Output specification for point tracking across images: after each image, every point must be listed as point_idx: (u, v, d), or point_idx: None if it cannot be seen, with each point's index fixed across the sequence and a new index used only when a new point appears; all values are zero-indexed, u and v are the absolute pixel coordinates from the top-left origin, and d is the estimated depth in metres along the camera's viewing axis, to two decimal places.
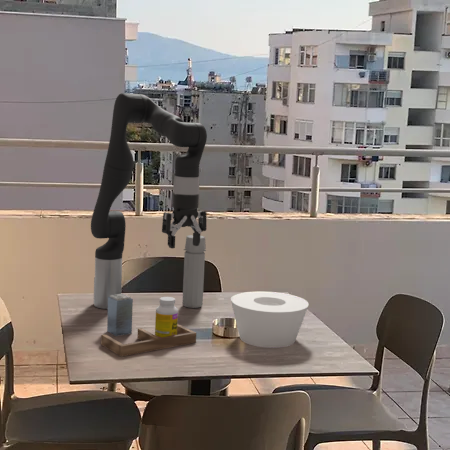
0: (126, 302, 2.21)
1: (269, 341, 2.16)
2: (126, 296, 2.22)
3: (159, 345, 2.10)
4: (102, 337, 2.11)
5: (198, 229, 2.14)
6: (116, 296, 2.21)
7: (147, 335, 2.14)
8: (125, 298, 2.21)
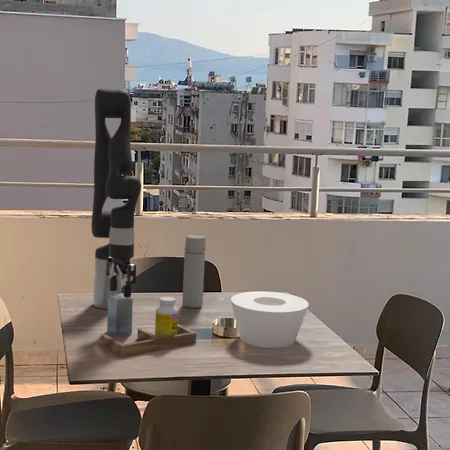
0: (126, 302, 2.21)
1: (269, 341, 2.16)
2: None
3: (159, 345, 2.10)
4: (102, 337, 2.11)
5: None
6: (116, 296, 2.21)
7: (147, 335, 2.14)
8: (125, 298, 2.21)
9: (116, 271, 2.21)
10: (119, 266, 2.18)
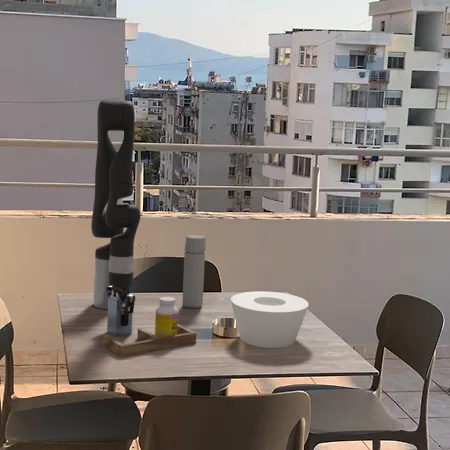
0: None
1: (269, 341, 2.16)
2: None
3: (159, 345, 2.10)
4: (102, 337, 2.11)
5: None
6: None
7: (147, 335, 2.14)
8: None
9: None
10: (118, 294, 2.19)
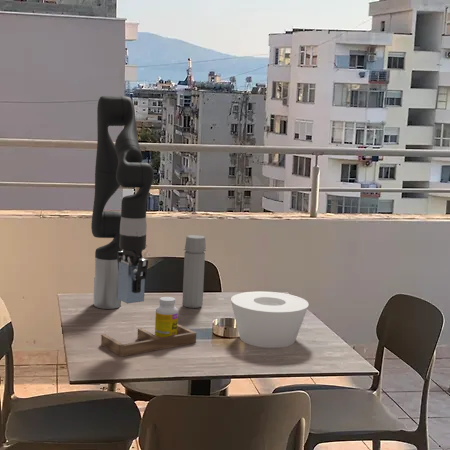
0: None
1: (269, 341, 2.16)
2: None
3: (159, 345, 2.10)
4: (102, 337, 2.11)
5: None
6: (127, 261, 2.07)
7: (147, 335, 2.14)
8: None
9: None
10: (130, 259, 2.05)
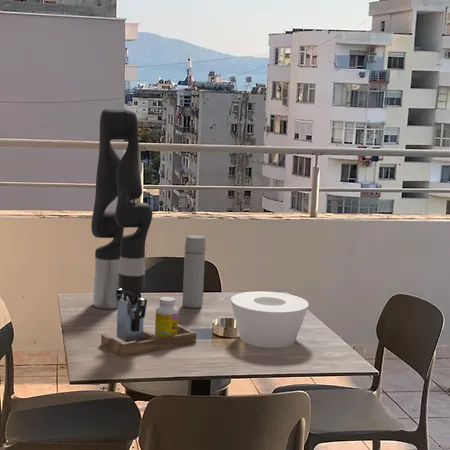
0: None
1: (269, 341, 2.16)
2: None
3: (159, 345, 2.10)
4: (102, 337, 2.11)
5: None
6: (126, 300, 2.09)
7: (147, 335, 2.14)
8: None
9: None
10: (129, 298, 2.07)
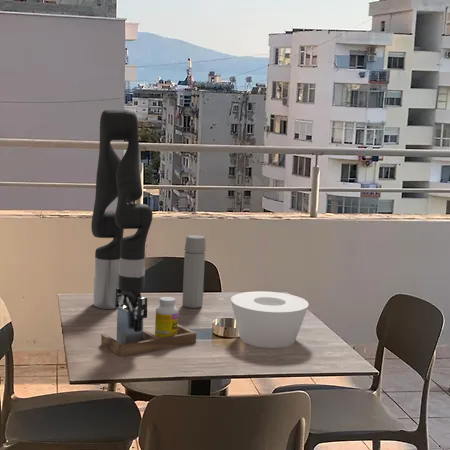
0: (137, 314, 2.09)
1: (269, 341, 2.16)
2: (137, 307, 2.10)
3: (159, 345, 2.10)
4: (102, 337, 2.11)
5: None
6: (126, 307, 2.09)
7: (147, 335, 2.14)
8: None
9: (126, 303, 2.10)
10: (129, 299, 2.07)
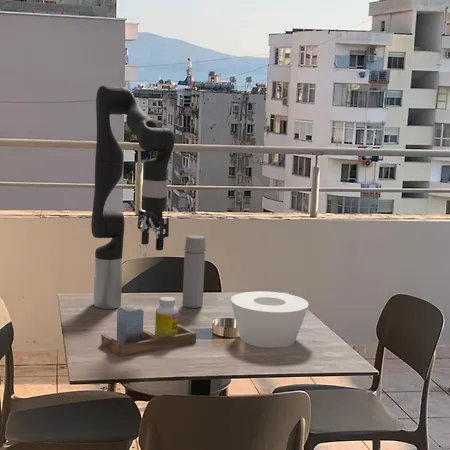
0: (137, 314, 2.09)
1: (269, 341, 2.16)
2: (137, 307, 2.10)
3: (159, 345, 2.10)
4: (102, 337, 2.11)
5: None
6: (126, 307, 2.09)
7: (147, 335, 2.14)
8: (136, 310, 2.09)
9: (148, 224, 2.20)
10: (151, 219, 2.17)
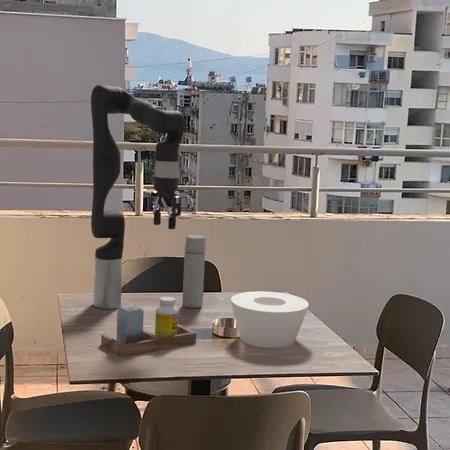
0: (137, 314, 2.09)
1: (269, 341, 2.16)
2: (137, 307, 2.10)
3: (159, 345, 2.10)
4: (102, 337, 2.11)
5: None
6: (126, 307, 2.09)
7: (147, 335, 2.14)
8: (136, 310, 2.09)
9: (160, 204, 2.27)
10: (164, 199, 2.24)
